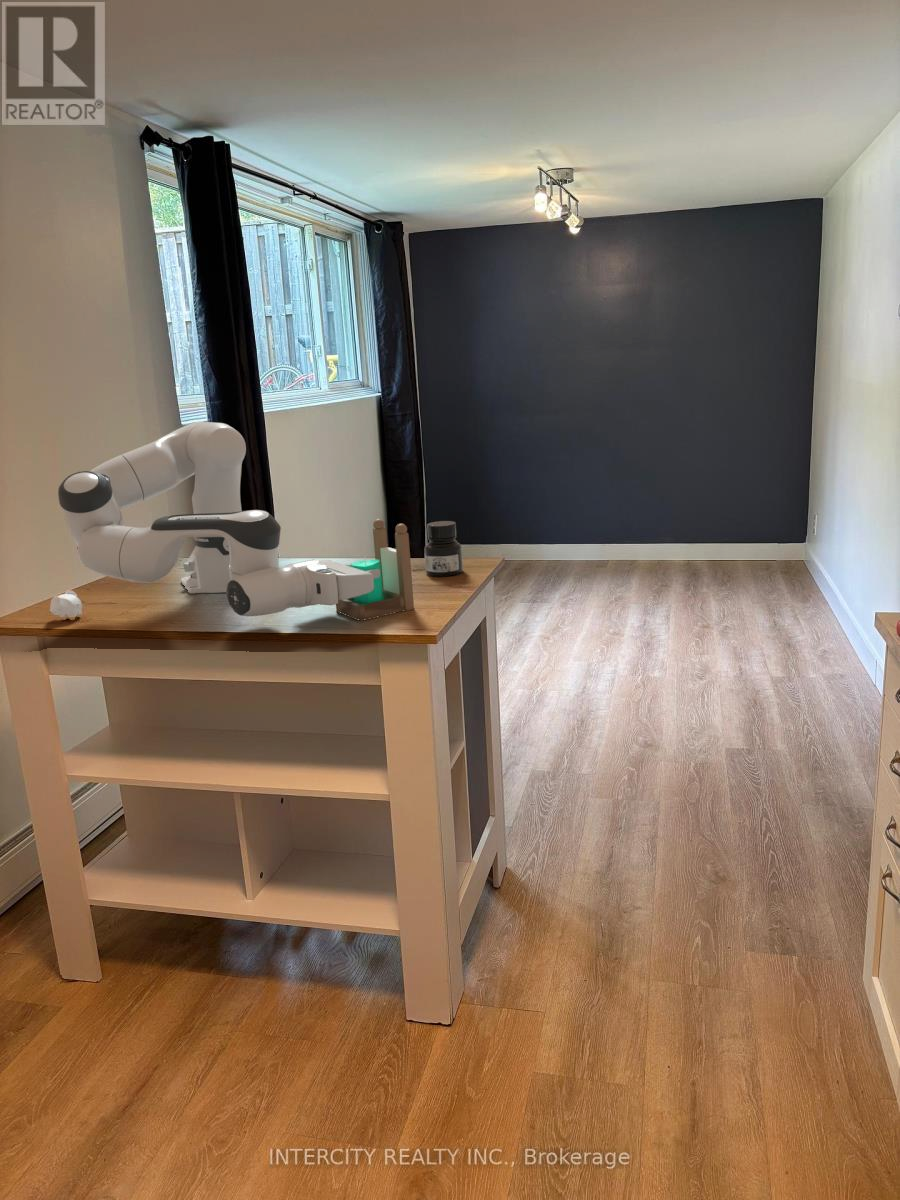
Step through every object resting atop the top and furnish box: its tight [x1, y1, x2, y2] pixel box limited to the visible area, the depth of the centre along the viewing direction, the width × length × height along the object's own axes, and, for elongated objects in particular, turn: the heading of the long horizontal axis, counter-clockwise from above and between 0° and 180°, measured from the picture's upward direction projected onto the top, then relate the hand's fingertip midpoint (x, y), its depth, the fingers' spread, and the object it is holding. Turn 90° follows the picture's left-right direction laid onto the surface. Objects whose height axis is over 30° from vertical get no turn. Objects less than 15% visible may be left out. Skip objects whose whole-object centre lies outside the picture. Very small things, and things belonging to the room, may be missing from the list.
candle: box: [350, 554, 383, 605], centre depth 194 cm, size 6×6×12 cm
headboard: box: [372, 518, 415, 611], centre depth 197 cm, size 11×2×18 cm, turn 35°
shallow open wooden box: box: [335, 589, 405, 621], centre depth 195 cm, size 10×10×3 cm
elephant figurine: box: [49, 589, 83, 618], centre depth 205 cm, size 7×8×6 cm
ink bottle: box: [423, 520, 464, 577], centre depth 223 cm, size 10×9×12 cm
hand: (370, 570), depth 194 cm, fingers closed on candle, 5 cm apart
